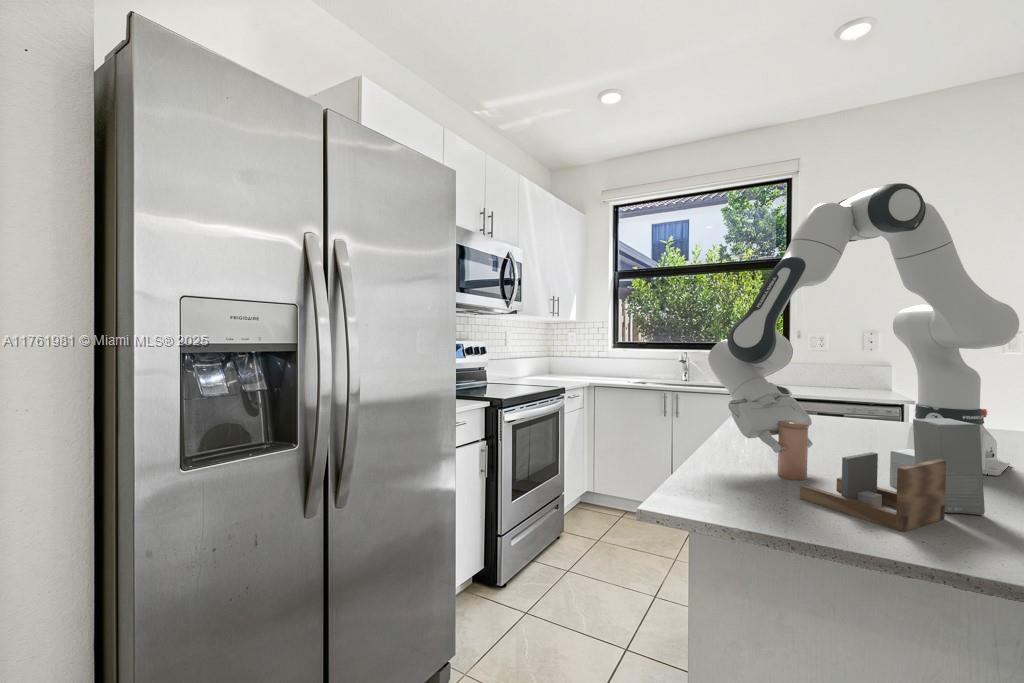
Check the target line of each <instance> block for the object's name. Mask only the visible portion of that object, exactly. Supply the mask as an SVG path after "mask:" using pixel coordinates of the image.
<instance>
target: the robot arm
mask: <svg viewBox="0 0 1024 683" xmlns="http://www.w3.org/2000/svg"><path fill="white" fill-rule="evenodd" d="M879 237H882V238H884V239H885V240H886V241H887V242H888V245H889V248H890V252H891V255H892V257H893V260H894V263H895V265H896V266H895V267H896V269H897V271H898V274H899V277H900V280H901V282H902V285H903V286H904V287H905V289H907V290H908V291H909V292H911V293H913V294H916V295H917V296H919V297H921V298H922V300H924V301H925V302H926V303H920V304H915V305H912V306H908V307H906V308H903V309H901V310H899V311H898V312H897V313H896V315H895V316H894V318H893V322H892V330H893V334H894V335H895V336H894V337H896V338H897V340H899V341H900V342H901V343H902V344H903V345H904V346H906V348H907V350H908V351H909V353H910V355H911V357H912V359H913V362H914V364H915V368H916V374H917V403H916V404H915V408H914V419H942V418H945V419H954V420H958V421H962V422H967V423H973V424H978V425H980V438H981V455H982V473H983V475H987V474H988V476H1001V474H1003V473H1004V472H1005V471H1006V470H1007V469H1008V468H1009V467H1010V466H1011V462H1010V461H1009V460H1006V459H1002V458H998V444H997V443H998V442H997V440H996V439H995V438H994V437H993V435H992V434H991V433H990V432H989V431H988V430H987V428H986V427H985V426H984V424H985V418H987V416H988V410H987V408H981V383H982V382H981V381H982V380H981V376H980V374H979V372H978V371H977V370H975V369H974V368H973V367H971V366H969V365H968V364H967V363H966V362H965V360H964V359H963V357H962V355H961V352H960V349H967V350H968V349H969V350H982V349H983V350H984V349H989V348H996V347H1002V346H1005V345H1007V344H1009V343H1010V342H1012V341H1013V340H1014V338H1015V337H1016V336H1017V334H1018V332H1019V328H1020V319H1019V318H1020V317H1019V316H1018V314H1017V312H1016V311H1015V310H1014V309H1013V306H1012V307H1011V306H1010V305H1009V304H1007V303H1005V302H1003V301H1001V300H1000V301H999V300H997V299H996V298H994V297H992V296H991V295H989V294H988V293H986V292H985V291H984V290H983V289H982V288H981V287H980V286H979V285H978V284H976V282H975V281H974V280H973V279H972V278H971V277H970V276H969V274H968V273H967V271H966V269H965V268H964V265H963V263H962V260H961V258H960V255H959V254H958V251H957V248H956V247H955V244H954V241H953V238H952V235H951V233H950V231H949V228H948V226H947V224H946V223H945V221H944V219H943V217H942V216H941V215H940V212H939V211H938V210H937V208H936V207H935V206H934V205H932V204H931V203H929V202H925V200H924V197H923V196H922V194H921V192H920V191H919V190H918V189H917V188H915V187H914V186H912V185H911V184H908V183H904V182H903V183H902V182H901V183H900V182H898V183H888V184H885V185H882V186H879V187H875V188H870V189H867V190H864V191H861V192H860V193H858V194H856V195H853V196H851V197H849V198H846V199H843V200H841V201H839V202H837V203H836V202H822V203H819V204H817V205H814V206H813V208H811V209H810V210H809V212H808V213H807V214H806V215H805V217H804V219H803V220H802V221H801V223H800V224H799V226H798V227H797V230H796V232H795V233H794V235H793V237H792V239H791V240H790V243H789V245H788V247H787V249H786V250H785V253H784V255H782V257H781V260H780V261H779V262H777V264H776V265H775V266H774V267H773V269H772V271H770V274H769V275H768V277H767V278H766V280H765V282H764V283H763V284H762V286H761V288H760V291H759V292H758V294H757V295H756V297H755V299H754V300H753V302H752V303H751V305H750V307H749V308H748V310H747V311H746V312H745V314H743V316H742V317H741V318H739V319H738V321H736V322H735V324H734V325H733V326H732V327H731V329H730V330H729V333H728V336H727V339H723V340H721V341H718V342H717V343H716V344H715V345H714V346H712V348H711V349H710V350H709V353H708V356H707V358H708V360H707V361H708V364H709V366H710V368H711V370H712V372H713V374H714V376H715V377H716V378H717V380H718V382H719V383H720V384H721V385H722V387H724V388H725V389H726V390H727V391H728V392H729V395H730V398H731V399H732V400H730V401H729V403H728V407H727V408H728V410H730V412H731V417H732V418H733V421H734V423H735V425H736V427H737V428H738V430H739V431H740V433H741V434H742V436H744V437H745V438H747V439H756V438H759V439H760V440H761V442H763V443H764V444H765V445H766V446H768V447H770V448H771V449H772V451H773V452H774V453H776V454H778V453H779V452H782V451H783V450H784V449H785V447H784V446H783V445H782V443H781V442H778V440H776V439H775V438H774V437H773V436H777V435H778V436H779V425H778V421H783V420H792V421H801V422H806V423H808V424H809V427H811V426H812V424H813V421H812V418H811V416H810V415H809V414H808V412H807V411H806V409H804V407H803V405H801V404H800V403H799V402H798V401H797V399H795V398H794V397H792V395H793V393H792V392H791V391H790V389H789V388H788V387H784V386H780V385H778V384H774V383H773V382H769V381H768V380H767V378H766V377H768V376H771V375H773V374H774V373H776V372H778V371H780V370H782V369H784V368H785V367H786V366H788V365H789V364H790V362H791V360H792V358H793V355H794V350H793V346H792V343H791V342H790V340H789V338H786V337H785V336H784V335H783V334H781V333H780V332H779V331H778V330H777V324H778V320H779V319H780V317H781V315H782V314H783V312H784V311H785V309H786V306H787V305H788V303H789V302H790V300H791V298H792V297H793V295H794V294H795V293H796V291H798V289H801V288H802V287H813V286H818V285H820V284H822V283H824V282H826V281H827V280H828V279H829V278H830V276H832V274H833V273H834V271H835V270H836V268H837V266H838V264H839V262H840V260H841V258H842V256H843V254H844V251H845V249H846V248H847V244H848V243H849V242H850V243H851V242H856V241H862V240H863V241H865V240H871V239H875V238H876V239H877V238H879ZM906 439H907V440H906V441H907V442H906V446H905V447H906V449H913V450H914V432H913V423H911V424H910V425H909V426H908V432H907V438H906ZM812 446H813V442H812V441H811V439H810V438H809V437H808V449H809V448H811V447H812ZM1009 465H1010V466H1009ZM1008 466H1009V467H1008ZM1007 467H1008V468H1007ZM1006 468H1007V469H1006ZM1005 469H1006V470H1005ZM1004 470H1005V471H1004ZM1003 471H1004V472H1003ZM1002 472H1003V473H1002Z"/></svg>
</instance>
